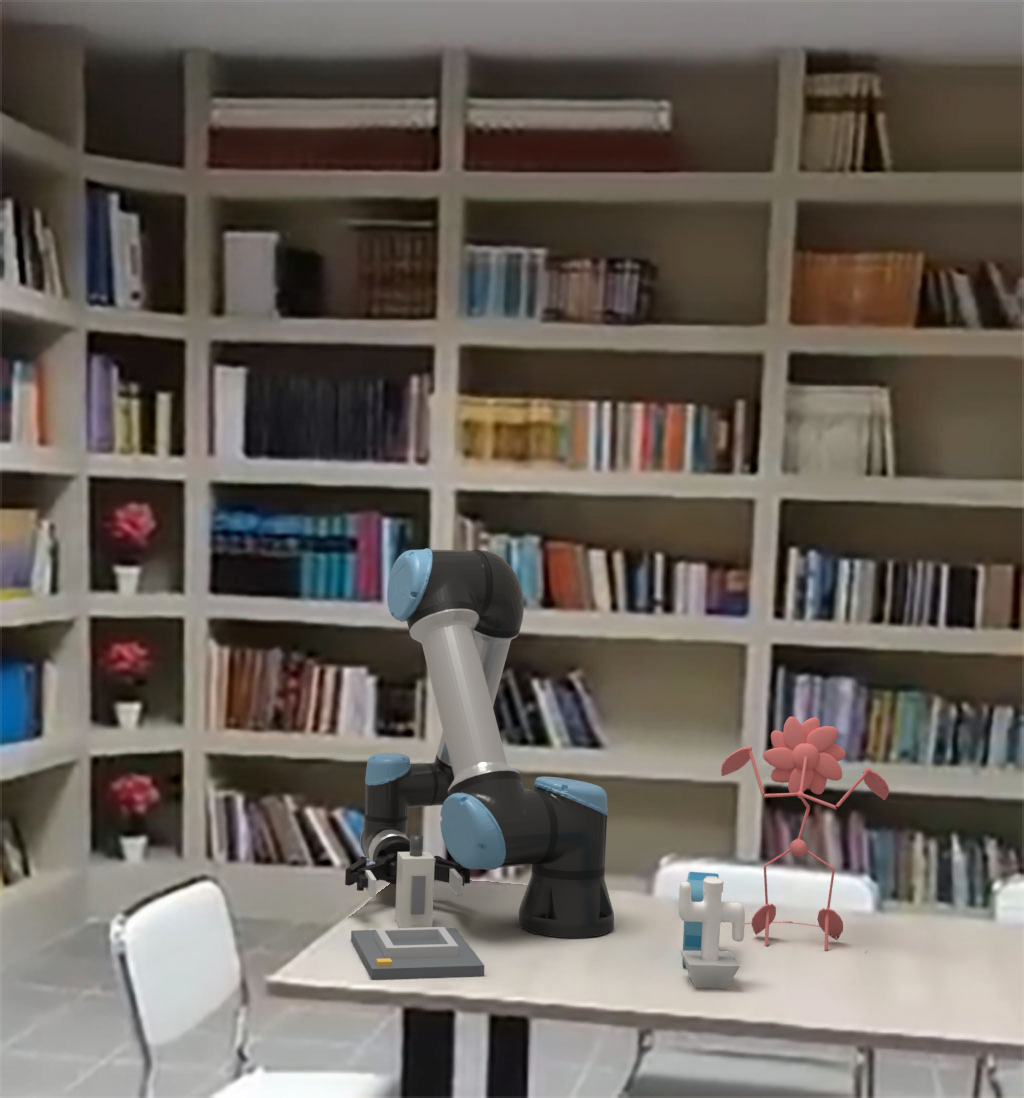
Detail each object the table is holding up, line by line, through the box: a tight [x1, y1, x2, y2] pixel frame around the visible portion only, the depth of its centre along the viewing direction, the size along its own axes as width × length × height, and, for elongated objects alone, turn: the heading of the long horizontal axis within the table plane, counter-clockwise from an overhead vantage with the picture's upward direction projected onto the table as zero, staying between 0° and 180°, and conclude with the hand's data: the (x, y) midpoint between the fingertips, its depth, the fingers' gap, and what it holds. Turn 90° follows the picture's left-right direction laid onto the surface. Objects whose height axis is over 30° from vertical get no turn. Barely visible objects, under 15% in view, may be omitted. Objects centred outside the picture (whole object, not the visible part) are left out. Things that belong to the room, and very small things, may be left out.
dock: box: [350, 926, 485, 981], centre depth 241 cm, size 16×20×3 cm
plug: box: [394, 834, 435, 928], centre depth 259 cm, size 5×6×14 cm
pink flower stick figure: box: [720, 716, 890, 954], centre depth 260 cm, size 15×26×35 cm, turn 81°
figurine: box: [678, 876, 746, 989], centre depth 234 cm, size 7×9×15 cm
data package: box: [681, 871, 720, 968], centre depth 246 cm, size 12×4×12 cm, turn 171°
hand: (417, 887), depth 257 cm, fingers open, 13 cm apart
